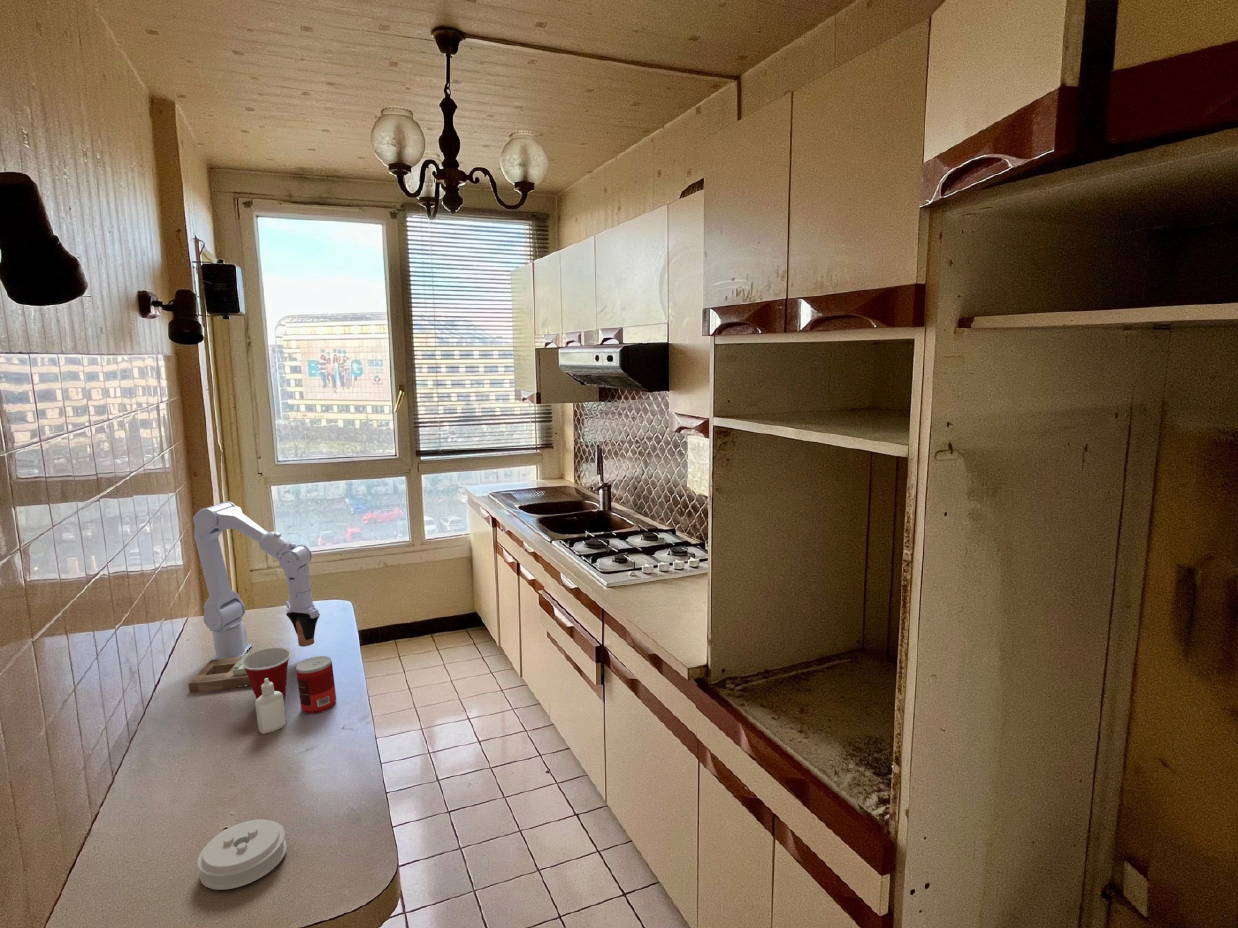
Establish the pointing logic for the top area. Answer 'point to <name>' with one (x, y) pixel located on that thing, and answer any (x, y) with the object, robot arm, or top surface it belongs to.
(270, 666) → the plastic cup
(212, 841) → the lid
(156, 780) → the top surface
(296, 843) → the top surface
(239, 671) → the cover
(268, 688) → the eye dropper bottle
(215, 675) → the board
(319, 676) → the canned food
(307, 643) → the pin
